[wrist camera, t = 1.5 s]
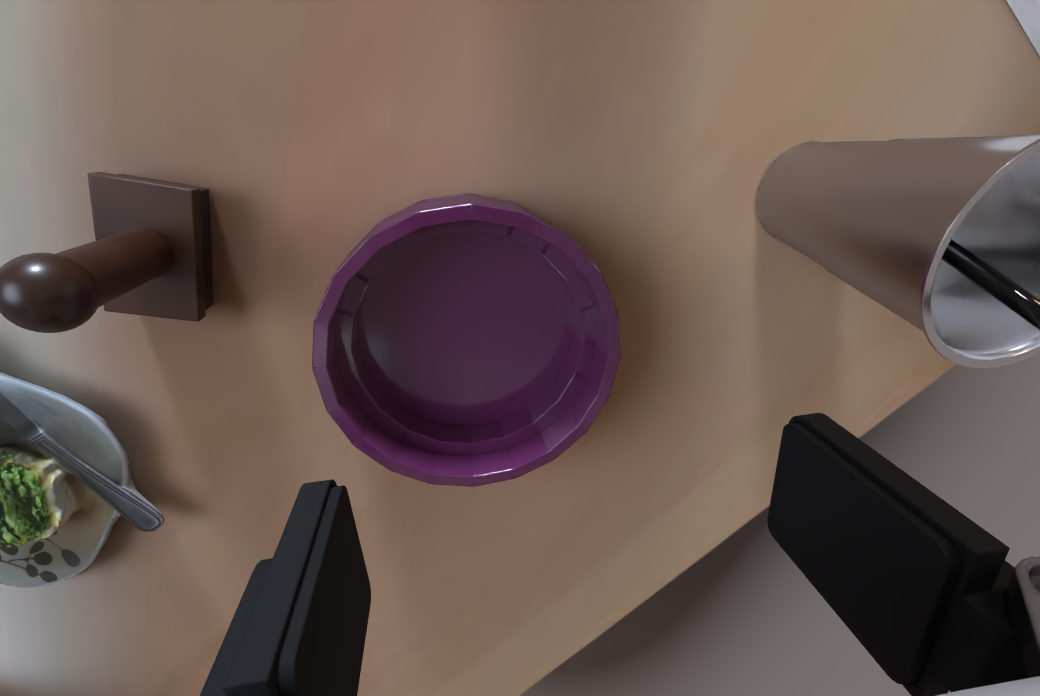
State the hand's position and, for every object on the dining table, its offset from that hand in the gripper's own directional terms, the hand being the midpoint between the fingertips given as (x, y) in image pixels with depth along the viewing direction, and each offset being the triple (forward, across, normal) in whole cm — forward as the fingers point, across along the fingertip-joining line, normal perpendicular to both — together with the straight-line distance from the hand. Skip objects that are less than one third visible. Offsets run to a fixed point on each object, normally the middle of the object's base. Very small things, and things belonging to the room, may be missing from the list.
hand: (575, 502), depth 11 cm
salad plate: (+24, +34, +10) cm, 43 cm away
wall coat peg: (+24, +18, -2) cm, 30 cm away
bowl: (+24, +2, +5) cm, 24 cm away
